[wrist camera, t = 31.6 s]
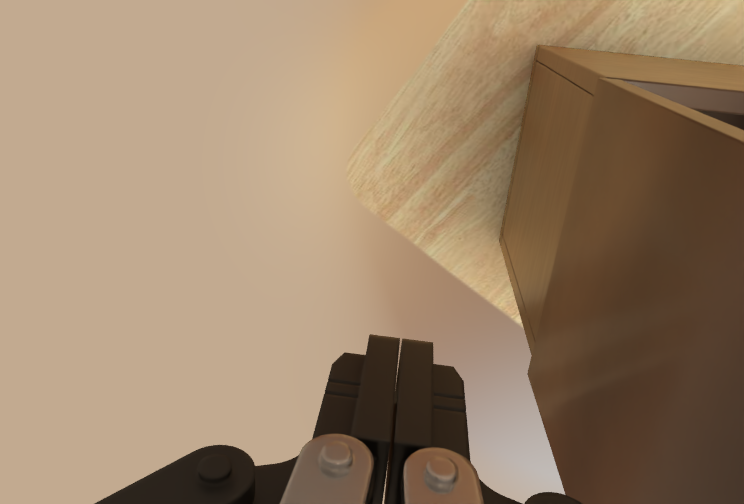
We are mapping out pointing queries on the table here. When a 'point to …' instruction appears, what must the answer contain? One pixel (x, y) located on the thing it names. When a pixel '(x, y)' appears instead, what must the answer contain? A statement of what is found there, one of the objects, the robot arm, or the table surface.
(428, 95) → the table surface
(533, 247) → the chest
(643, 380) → the lid
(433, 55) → the table surface
